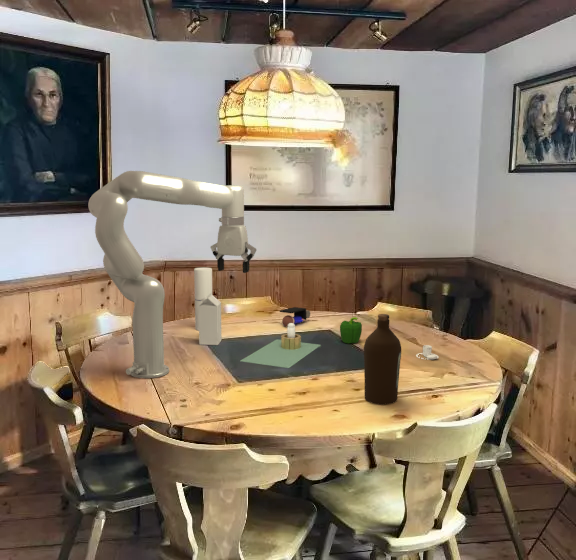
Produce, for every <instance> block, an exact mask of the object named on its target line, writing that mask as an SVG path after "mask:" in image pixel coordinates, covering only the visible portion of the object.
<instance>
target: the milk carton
mask: <svg viewBox="0 0 576 560" xmlns="http://www.w3.org/2000/svg"><path fill="white" fill-rule="evenodd" d="M201 301H202V303H201V304H200V305H199V331H198V337H199V338H198V341H199V342H198V345H199V346H200V345H201V346H202V345H205V346H219V345H220V343H221V341H222V302H221V301H220V300H219V299H218V298H216V297H215V296H214V295H213V291H212V292H211V293H210V294H209V295H208V298H206V296H205V297H204V298H202V299H201Z"/></svg>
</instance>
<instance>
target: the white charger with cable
mask: <svg viewBox="0 0 576 560" xmlns="http://www.w3.org/2000/svg"><path fill="white" fill-rule="evenodd" d="M432 349H433V346H432V345H429V344H427V345H426V344H425V345H422V352H420V353H419V352H418V353H416V355H415V356H416V358H418V359H420V357H421V356H420V355H419V354H421V355H423V357H421V360H425V359H424V358H426V359H427V360H429V361H430V360H438V359H439V355H437V354H435V353H432ZM418 355H419V357H418ZM427 360H426V361H427Z"/></svg>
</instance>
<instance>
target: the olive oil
mask: <svg viewBox="0 0 576 560" xmlns="http://www.w3.org/2000/svg"><path fill="white" fill-rule="evenodd" d="M376 323H377V325H376V326H377V327H376V328H375V329H374V330H373V331H372V332H371V333H370V334H369V335H368V336H367V338H366V339H365V342H364V344H363V365H364V367H363V371H364V399H365V401H367V402H368V403H370V404H374V405H391V404H395V403H396V402H397V401H398V393H399V392H398V391H399V379H400V369H401V359H402V358H401V357H402V346H401V341H400V339H399V338H398V337H397V335H396V334H395V333H394V332H393V331H392V329H390V315H389V314H387V313H379V314H378V315H377V322H376Z"/></svg>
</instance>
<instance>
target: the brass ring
mask: <svg viewBox="0 0 576 560" xmlns="http://www.w3.org/2000/svg"><path fill="white" fill-rule="evenodd" d="M280 337H281V338H280V340H281V347H282V348H283V349H290V350H294V349H299V348H301V342H302V336H301V335H300V334H297V333H295V338H287V333H284V334H282V335H280Z"/></svg>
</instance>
